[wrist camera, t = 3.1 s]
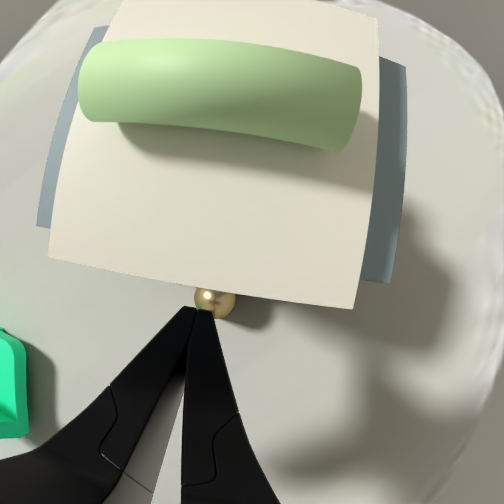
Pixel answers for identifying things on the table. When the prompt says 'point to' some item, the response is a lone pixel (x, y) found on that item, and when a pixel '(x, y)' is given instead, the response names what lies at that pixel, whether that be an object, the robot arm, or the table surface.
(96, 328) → the table surface
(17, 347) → the camera mount
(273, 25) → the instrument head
